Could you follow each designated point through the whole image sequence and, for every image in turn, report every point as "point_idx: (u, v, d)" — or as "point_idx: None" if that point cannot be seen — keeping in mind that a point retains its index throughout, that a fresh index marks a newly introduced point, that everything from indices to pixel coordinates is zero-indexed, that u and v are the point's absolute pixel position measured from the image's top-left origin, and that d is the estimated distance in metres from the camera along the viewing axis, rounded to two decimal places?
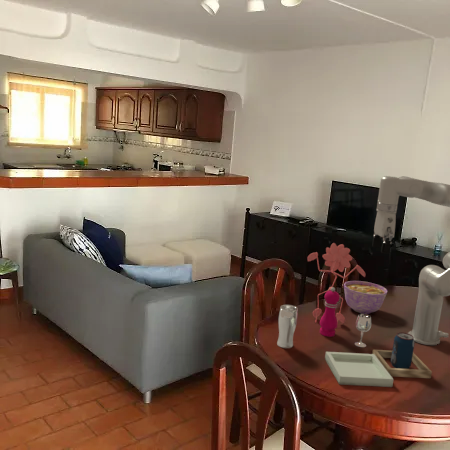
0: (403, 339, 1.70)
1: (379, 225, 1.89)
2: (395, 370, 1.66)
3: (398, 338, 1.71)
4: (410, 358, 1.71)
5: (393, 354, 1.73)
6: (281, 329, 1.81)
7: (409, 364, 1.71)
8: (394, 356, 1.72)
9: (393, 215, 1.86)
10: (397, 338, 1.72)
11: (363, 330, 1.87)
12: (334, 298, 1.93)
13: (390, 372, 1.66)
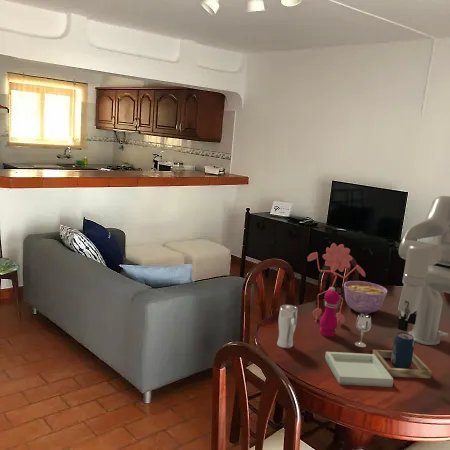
0: (403, 339, 1.70)
1: (419, 300, 1.69)
2: (395, 370, 1.66)
3: (398, 338, 1.71)
4: (410, 358, 1.71)
5: (393, 354, 1.73)
6: (281, 329, 1.81)
7: (409, 364, 1.71)
8: (394, 356, 1.72)
9: None
10: (397, 338, 1.72)
11: (363, 330, 1.87)
12: (334, 298, 1.93)
13: (390, 372, 1.66)
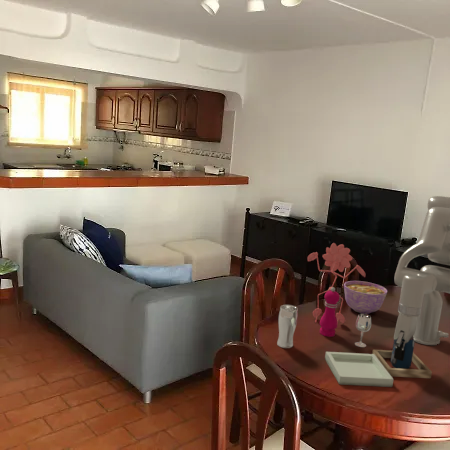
0: None
1: (414, 328, 1.72)
2: (395, 370, 1.66)
3: None
4: (410, 358, 1.71)
5: (393, 354, 1.73)
6: (281, 329, 1.81)
7: (409, 364, 1.71)
8: None
9: None
10: None
11: (363, 330, 1.87)
12: (334, 298, 1.93)
13: (390, 372, 1.66)
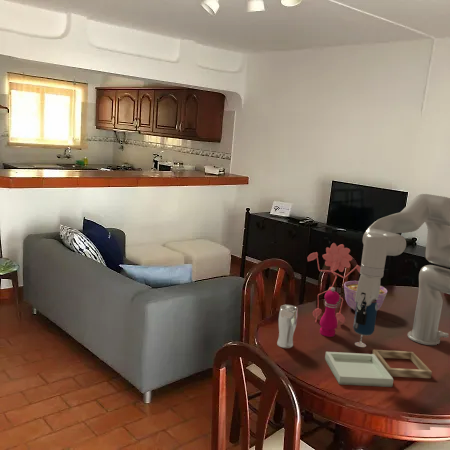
0: None
1: (377, 291, 1.62)
2: (395, 370, 1.66)
3: None
4: (373, 322, 1.61)
5: (355, 319, 1.63)
6: (281, 329, 1.81)
7: (372, 329, 1.61)
8: None
9: None
10: None
11: None
12: (334, 298, 1.93)
13: (390, 372, 1.66)
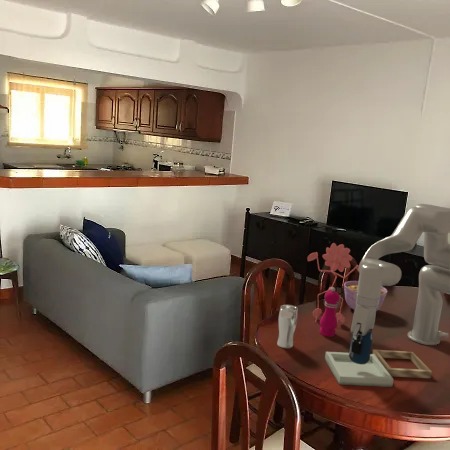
0: (361, 332, 1.62)
1: (373, 320, 1.64)
2: (395, 370, 1.66)
3: None
4: (368, 352, 1.63)
5: (351, 347, 1.65)
6: (281, 329, 1.81)
7: (367, 358, 1.63)
8: None
9: None
10: None
11: None
12: (334, 298, 1.93)
13: (390, 372, 1.66)
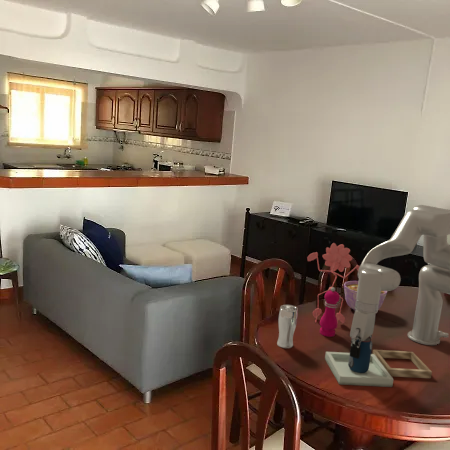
0: None
1: (372, 325, 1.64)
2: (395, 370, 1.66)
3: None
4: (367, 361, 1.64)
5: (350, 357, 1.66)
6: (281, 329, 1.81)
7: (366, 367, 1.64)
8: (351, 359, 1.65)
9: None
10: None
11: None
12: (334, 298, 1.93)
13: (390, 372, 1.66)
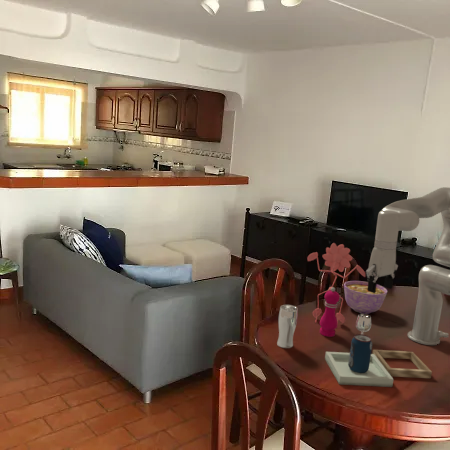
0: (360, 341, 1.63)
1: (391, 264, 1.75)
2: (395, 370, 1.66)
3: (355, 340, 1.64)
4: (367, 361, 1.64)
5: (350, 357, 1.66)
6: (281, 329, 1.81)
7: (366, 367, 1.64)
8: (351, 359, 1.65)
9: None
10: (354, 340, 1.65)
11: (363, 330, 1.87)
12: (334, 298, 1.93)
13: (390, 372, 1.66)
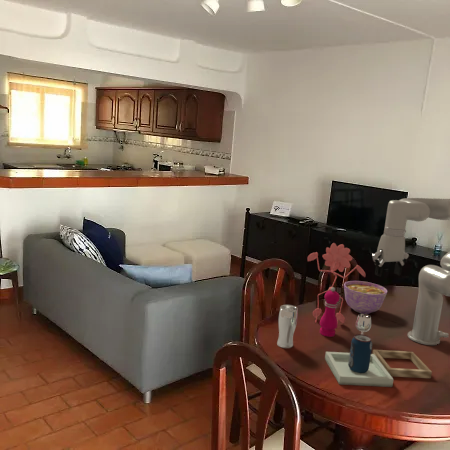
0: (360, 341, 1.63)
1: (399, 251, 1.85)
2: (395, 370, 1.66)
3: (355, 340, 1.64)
4: (367, 361, 1.64)
5: (350, 357, 1.66)
6: (281, 329, 1.81)
7: (366, 367, 1.64)
8: (351, 359, 1.65)
9: None
10: (354, 340, 1.65)
11: (363, 330, 1.87)
12: (334, 298, 1.93)
13: (390, 372, 1.66)
